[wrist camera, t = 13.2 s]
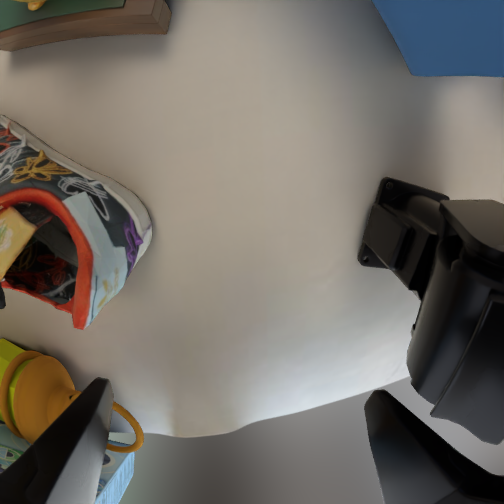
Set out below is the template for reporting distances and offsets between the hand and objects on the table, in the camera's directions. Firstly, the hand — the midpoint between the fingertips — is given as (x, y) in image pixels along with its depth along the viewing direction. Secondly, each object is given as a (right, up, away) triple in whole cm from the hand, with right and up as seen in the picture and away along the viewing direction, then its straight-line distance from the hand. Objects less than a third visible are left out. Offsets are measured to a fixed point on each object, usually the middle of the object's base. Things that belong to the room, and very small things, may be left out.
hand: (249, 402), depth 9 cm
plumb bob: (-21, -6, +15) cm, 27 cm away
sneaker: (-16, +10, +7) cm, 20 cm away
